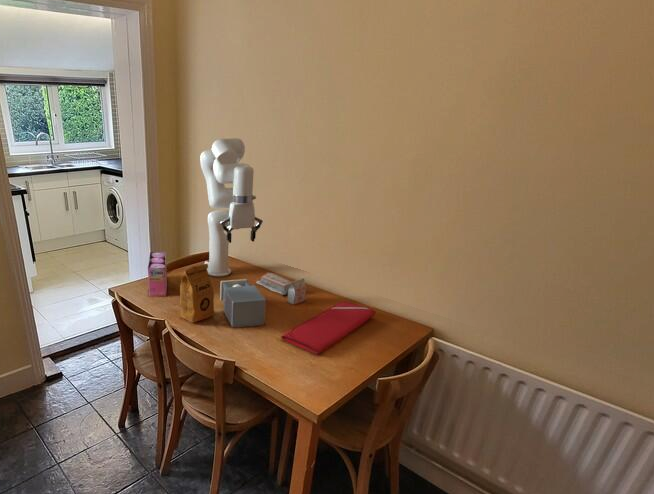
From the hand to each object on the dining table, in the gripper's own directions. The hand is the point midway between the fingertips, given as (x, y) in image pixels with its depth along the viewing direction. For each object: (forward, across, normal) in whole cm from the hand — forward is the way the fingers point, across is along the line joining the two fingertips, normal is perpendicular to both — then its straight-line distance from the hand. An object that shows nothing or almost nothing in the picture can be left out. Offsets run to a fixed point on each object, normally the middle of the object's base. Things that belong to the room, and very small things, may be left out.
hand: (240, 241), depth 169 cm
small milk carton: (+26, -24, +6) cm, 36 cm away
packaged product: (+26, -21, -10) cm, 35 cm away
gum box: (+26, +33, -21) cm, 47 cm away
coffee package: (+26, +21, +14) cm, 36 cm away
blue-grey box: (+26, +3, +18) cm, 32 cm away
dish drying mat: (+26, -27, +32) cm, 50 cm away
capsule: (+24, +3, +7) cm, 26 cm away
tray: (+25, +3, +5) cm, 26 cm away
